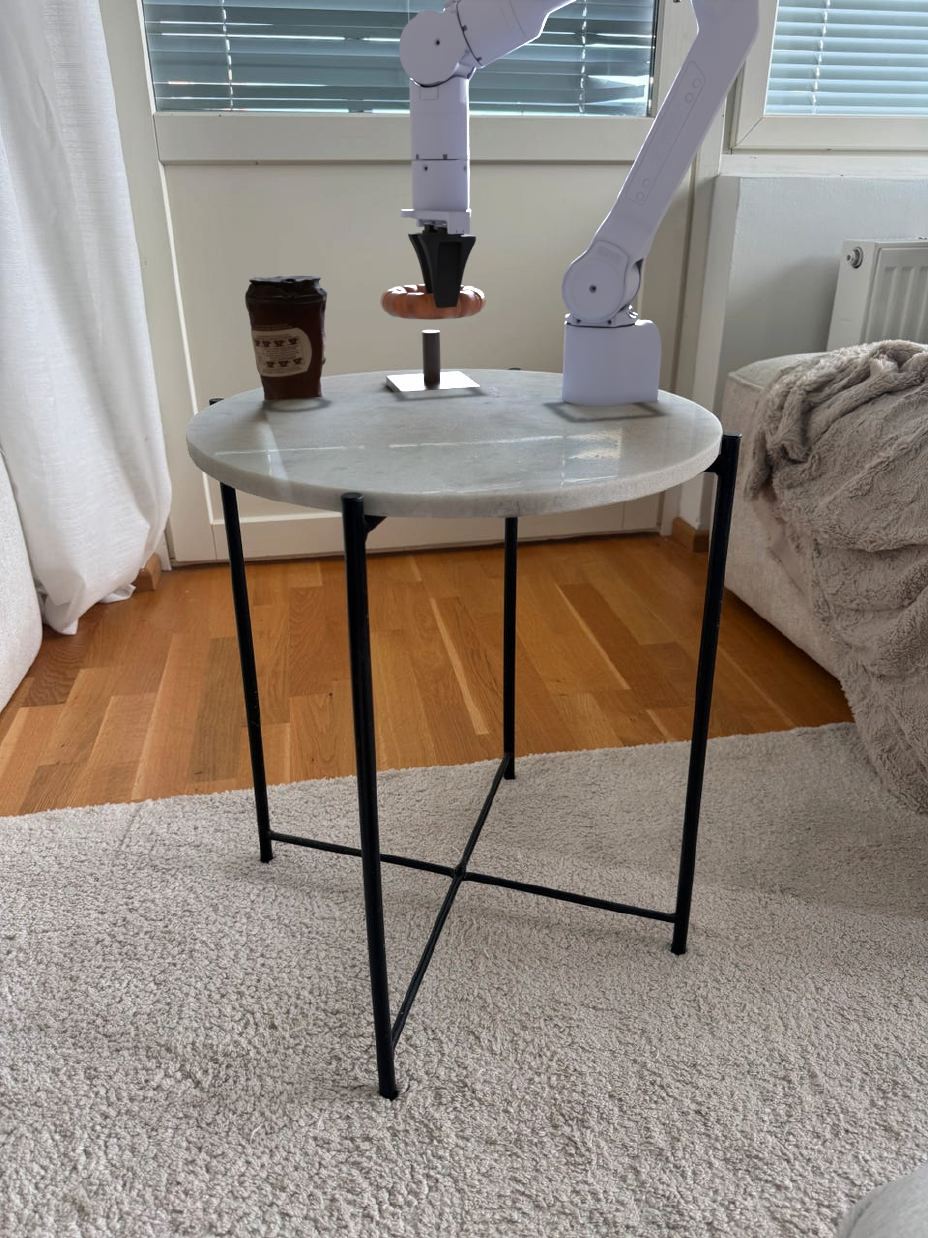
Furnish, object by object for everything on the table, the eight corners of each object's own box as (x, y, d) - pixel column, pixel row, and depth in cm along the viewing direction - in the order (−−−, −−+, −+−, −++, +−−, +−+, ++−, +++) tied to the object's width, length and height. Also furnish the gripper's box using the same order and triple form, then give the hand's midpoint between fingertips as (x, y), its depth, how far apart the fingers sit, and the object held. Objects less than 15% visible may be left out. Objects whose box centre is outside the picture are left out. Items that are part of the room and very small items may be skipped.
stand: (459, 379, 110) (459, 323, 107) (480, 395, 102) (480, 335, 100) (386, 384, 108) (383, 327, 105) (402, 400, 100) (399, 339, 98)
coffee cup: (317, 415, 94) (307, 281, 89) (242, 412, 96) (227, 280, 90) (344, 397, 102) (336, 273, 96) (274, 394, 104) (262, 272, 98)
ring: (469, 305, 107) (469, 281, 105) (496, 318, 97) (496, 292, 96) (374, 309, 104) (373, 284, 103) (392, 323, 94) (391, 296, 93)
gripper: (386, 161, 96) (391, 298, 102) (416, 159, 83) (420, 315, 89) (451, 161, 97) (452, 295, 103) (491, 159, 85) (490, 312, 91)
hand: (442, 304), depth 96 cm, fingers closed on ring, 3 cm apart
